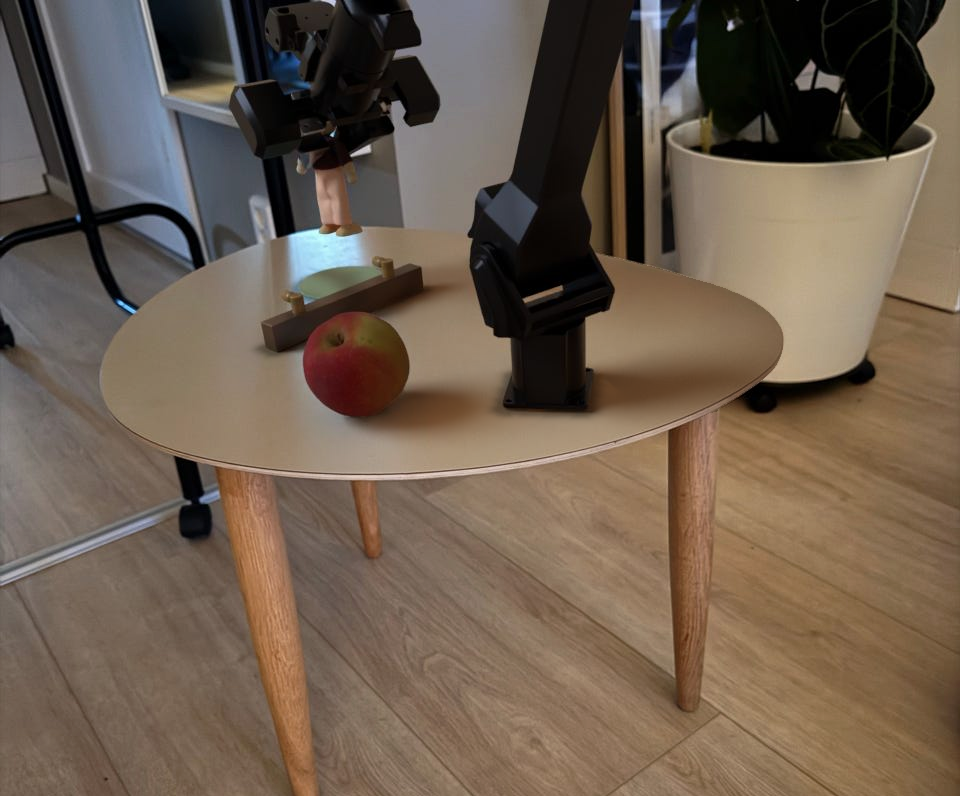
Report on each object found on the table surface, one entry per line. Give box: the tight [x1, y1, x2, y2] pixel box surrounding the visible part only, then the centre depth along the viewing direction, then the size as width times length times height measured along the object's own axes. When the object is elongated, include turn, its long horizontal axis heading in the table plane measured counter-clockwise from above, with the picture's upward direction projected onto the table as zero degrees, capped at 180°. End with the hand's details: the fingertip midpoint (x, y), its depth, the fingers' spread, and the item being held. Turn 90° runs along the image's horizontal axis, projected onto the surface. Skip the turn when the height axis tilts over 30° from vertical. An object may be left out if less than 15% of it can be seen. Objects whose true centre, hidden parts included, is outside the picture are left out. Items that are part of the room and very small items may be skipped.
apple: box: [302, 312, 411, 418], centre depth 71 cm, size 8×8×8 cm
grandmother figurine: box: [296, 123, 363, 238], centre depth 91 cm, size 8×4×13 cm, turn 65°
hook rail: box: [260, 255, 425, 353], centre depth 92 cm, size 19×13×4 cm
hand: (319, 161), depth 92 cm, fingers closed on grandmother figurine, 3 cm apart
